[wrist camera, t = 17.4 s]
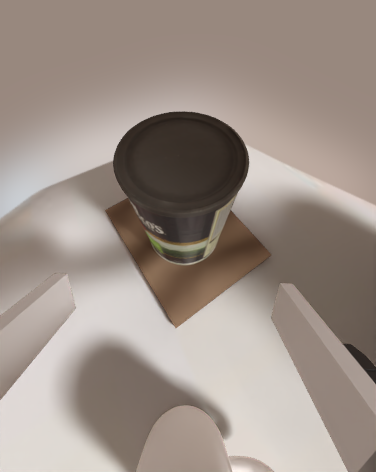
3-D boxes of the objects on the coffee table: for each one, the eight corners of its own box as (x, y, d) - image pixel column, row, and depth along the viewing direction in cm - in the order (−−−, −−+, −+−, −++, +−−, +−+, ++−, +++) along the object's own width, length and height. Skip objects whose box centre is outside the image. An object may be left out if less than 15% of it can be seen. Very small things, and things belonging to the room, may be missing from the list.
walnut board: (268, 257, 26) (271, 254, 25) (176, 327, 23) (175, 328, 22) (189, 170, 33) (189, 165, 32) (108, 214, 29) (105, 210, 28)
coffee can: (170, 280, 24) (148, 239, 11) (138, 220, 27) (93, 136, 14) (234, 243, 26) (279, 172, 13) (196, 192, 29) (202, 96, 17)
